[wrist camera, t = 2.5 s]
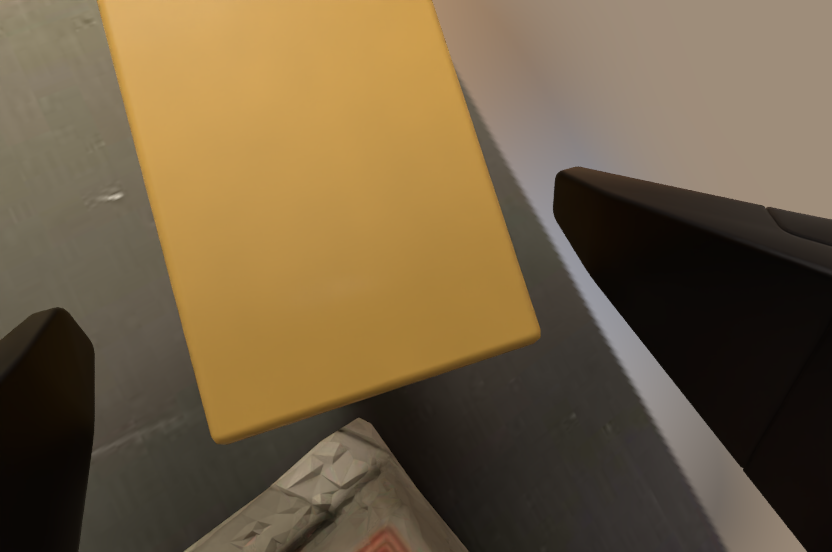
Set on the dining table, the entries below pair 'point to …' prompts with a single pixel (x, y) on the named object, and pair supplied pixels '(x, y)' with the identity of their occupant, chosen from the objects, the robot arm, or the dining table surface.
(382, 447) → the packaged product
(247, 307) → the mustard yellow box
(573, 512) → the dining table surface
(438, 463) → the dining table surface
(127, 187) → the dining table surface
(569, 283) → the dining table surface
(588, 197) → the robot arm
